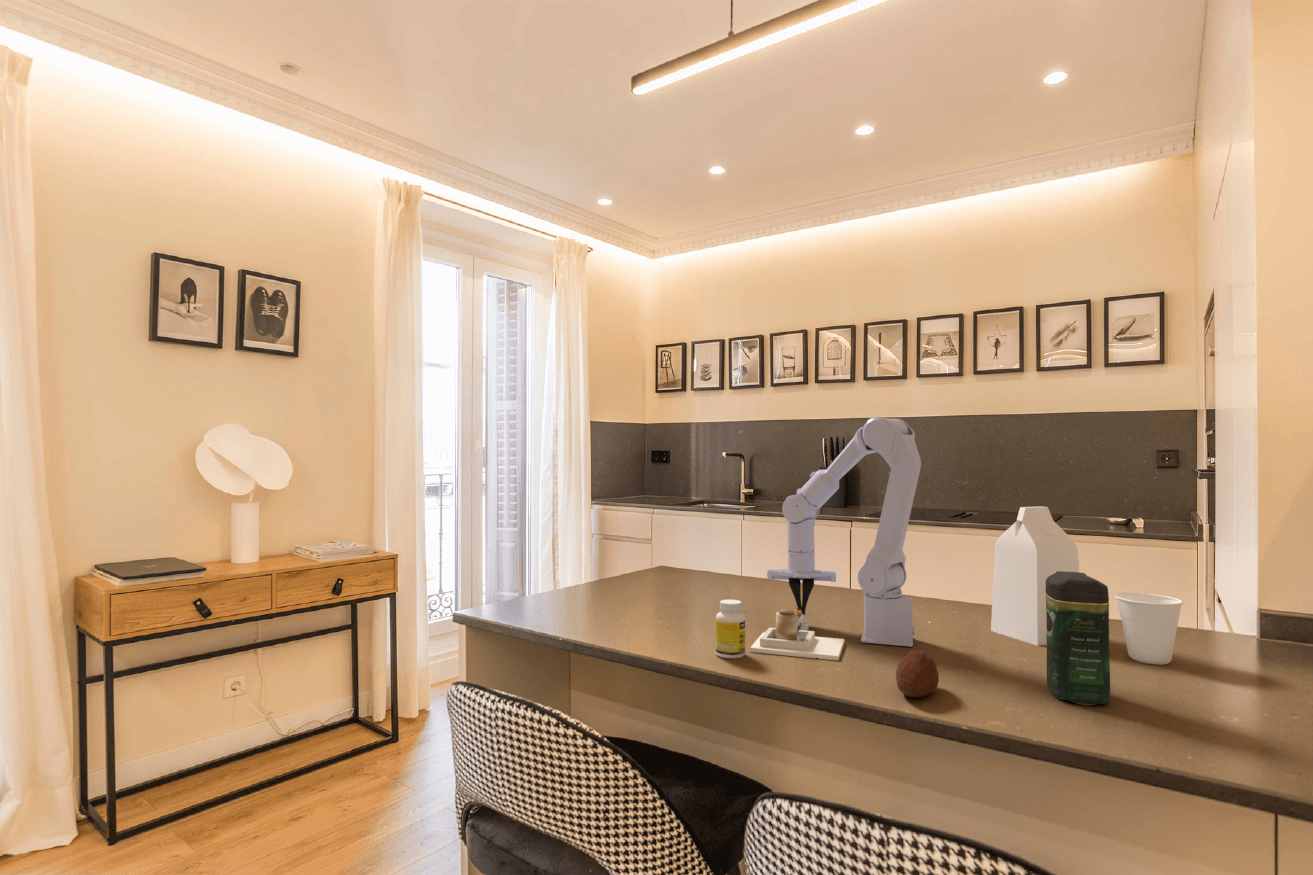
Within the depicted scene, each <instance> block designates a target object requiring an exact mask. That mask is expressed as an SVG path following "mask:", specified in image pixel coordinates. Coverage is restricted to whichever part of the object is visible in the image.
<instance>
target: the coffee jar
mask: <svg viewBox="0 0 1313 875" xmlns="http://www.w3.org/2000/svg"><path fill="white" fill-rule="evenodd" d="M1045 583H1046V590H1045V591H1046V620H1047V645H1046V685H1047V687H1048V689H1049V691H1050V692H1051V694H1053V696H1055V697H1056V698H1057V699H1059V700H1064V701H1065V700H1066V701H1069V702H1073V703H1075V704H1077V705H1083V706H1094V705H1107V704H1108V703H1110V701H1111V665H1110V663H1111V662H1110V659H1111V658H1110V655H1111V654H1110V599H1109V598H1110V596H1109V589H1108V588H1109V587H1108V586H1107V585H1106V584H1105V583H1103V582H1101V581H1099V580H1097V579H1095V578H1093V577H1091V576H1088V575H1087V574H1086V573H1084V572H1080V571H1079V572H1064V571H1057V572H1056V573H1055V574H1052V575H1050V576H1049V577H1047V579H1046V582H1045Z"/></svg>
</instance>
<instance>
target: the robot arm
mask: <svg viewBox="0 0 1313 875" xmlns="http://www.w3.org/2000/svg"><path fill="white" fill-rule="evenodd" d="M915 435H916V432H915V431H914V429H912V428H911V427H910V426H909V425H908V423H907V422H906V421H904V420H903V419H901V418H895V417H894V418H887V417H886V418H884V417H882V416H874V417H872V418H869V419H868V420H867V421H866V422H865V423H864V424H863V426H861V427H860V428H858V429H857V431H855V434H854V436H853V437H852V439H851V440H850V441H849V442H848V443H847V444H846V446H845V447H844V449H842V451H840V453H839V454H838V455H837V456H836V457H835V459H834V460H833V461H832V462H831V464H830V465H829V466H828V467H827V468H826V469H818V470H817V471H812V472H811V473H810V474H809V477H810V478H809V480H808V481H807V482H806V483H805V484H803V486H802V487H799V488H797V490H796V494H795V495H794V494H792V495H789V496H787V497H786V498H785V500H784V501H783V503H782V506H781V507H782V508H781V512H782V515H783V516H784V518H785V520H786V521H787V527H786V528H787V531H786V532H787V569H786V568H785V569H780V568H779V569H777V568H776V569H767V574H766V579H767V580H768V581H769V580H770V581H772V580H781V581H782V580H783V581H788V585H789V588H790V589H791V592H792V594H793V597H794V600H795V602H796V607H797V609H801V613H803V616H805V615H806V609H807V605H808V604H807V603H808V601H809V598H810V596H811V592H812V591H813V588H814V586H815V581H816V582H817V581H818V582H819V581H820V582H832V583H836V582H837V571H835V570H832V571H831V570H822V569H821V570H817V569H815V568H816V567H815V564H816V563H815V562H816V560H815V559H816V558H815V555H816V554H815V553H816V552H815V522H816V519H817V518H818V516H819V514H820V508H822V507H823V506H824V505H825V503H827V501H829V499H830V498H831V497H832V496H833V495H835V493H836V492H837V491H838V490H839V488H840V480H841V479H842V478H843V477H844V476H845V475H846V474H847V473H848V472H850V471H851V469H853V467H854V466H856V464H858V463H859V462H860V461H861V460H862V459H863V458H864V457H865V456H867V455H870V454H874V453H875V454H876V453H877V454H879V455H880V456H881V457H882V458H883V460H885V462H886V463H887V464H888V466H889V468H890V472H889V477H888V482H887V484H886V490H885V495H884V499H883V505H882V509H881V514H880V517H879V518H880V519H879V521H878V522H879V523H878V527H877V532H876V537H875V540H874V545H873V547H872V548H871V549H870V550H869V552H868V554H867V556H866V559H865V562H864V564H863V565H862V567H860V569H859V571H858V573H857V583H858V584H859V587H860V588H861V590H862V591H863V623H864V624H863V626H864V627H863V631H862V635H861V638H860V642H861V643H863V644H864V643H865V644H866V643H867V644H876V645H889V646H891V645H892V646H899V647H900V646H901V647H911V648H912V647H914V636H915V634H916V633H915V632H916V631H915V628H916V627H915V625H914V624H913V623H914V622H913V619H914V618H913V616H914V615H913V597H911V596H904V595H903V593H902V587H903V586H904V585H905V583H906V581H907V570H906V566H905V564H906V563H905V562H906V560H907V557H906V555H905V553H904V551H903V548H904V543H905V540H906V535H907V530H908V527H909V521H910V517H911V513H912V508H913V503H914V499H915V495H916V490H917V486H918V481H919V477H920V473H921V467H922V460H921V456H920V453H919V450H918V447H917V443H916V441H915V437H916V436H915ZM801 581H802V582H801ZM801 583H802V585H801ZM801 586H802V590H801ZM801 591H802V596H801ZM801 598H802V599H801Z"/></svg>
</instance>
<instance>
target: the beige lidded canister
mask: <svg viewBox="0 0 1313 875" xmlns="http://www.w3.org/2000/svg"><path fill="white" fill-rule="evenodd" d="M775 628H776V639H783V640H794V641H797V613H795V612H794V609H792V608H791V609H789V608H781V609H779V610H778V611H777V612H776V613H775Z"/></svg>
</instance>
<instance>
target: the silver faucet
mask: <svg viewBox="0 0 1313 875" xmlns="http://www.w3.org/2000/svg"><path fill="white" fill-rule="evenodd" d="M793 610H794V612H795V613H797V634H798V633H799V630H800V628H801V626H802V625H803V623H804V615H803V613H801V609H798V608H793Z"/></svg>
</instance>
